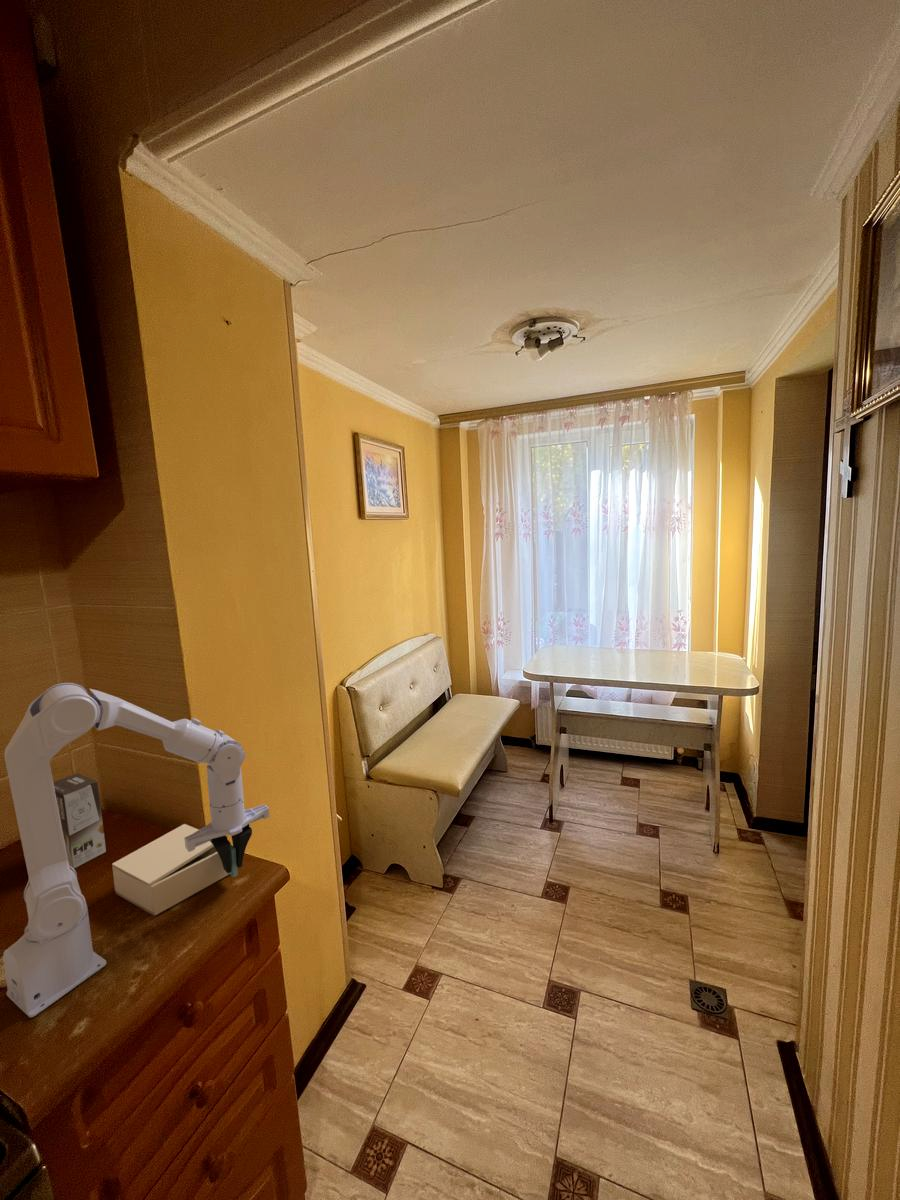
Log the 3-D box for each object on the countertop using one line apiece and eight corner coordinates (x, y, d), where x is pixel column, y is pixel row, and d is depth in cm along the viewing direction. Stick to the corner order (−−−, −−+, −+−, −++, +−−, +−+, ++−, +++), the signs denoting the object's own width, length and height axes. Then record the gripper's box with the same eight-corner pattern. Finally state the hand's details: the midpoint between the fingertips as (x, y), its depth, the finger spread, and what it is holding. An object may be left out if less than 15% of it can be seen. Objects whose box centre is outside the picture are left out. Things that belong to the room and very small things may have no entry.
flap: (163, 926, 79) (159, 887, 78) (153, 913, 82) (149, 876, 81) (244, 880, 90) (241, 845, 89) (232, 870, 92) (229, 836, 92)
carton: (152, 915, 82) (149, 883, 81) (115, 893, 87) (111, 863, 87) (223, 866, 94) (221, 838, 93) (187, 850, 100) (184, 823, 99)
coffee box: (108, 851, 100) (99, 780, 98) (72, 870, 94) (63, 795, 93) (86, 840, 104) (77, 772, 103) (51, 857, 99) (41, 785, 97)
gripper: (190, 825, 78) (198, 899, 80) (274, 791, 89) (279, 858, 90) (178, 809, 83) (185, 879, 85) (258, 779, 93) (263, 842, 95)
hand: (232, 867), depth 88 cm, fingers closed
